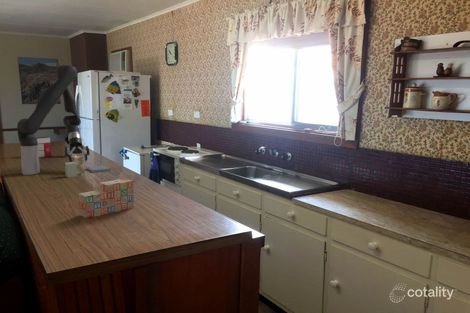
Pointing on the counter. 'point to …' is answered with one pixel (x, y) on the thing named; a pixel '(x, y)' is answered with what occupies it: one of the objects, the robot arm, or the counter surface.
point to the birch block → (79, 163)
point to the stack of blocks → (107, 198)
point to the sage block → (70, 169)
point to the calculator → (44, 146)
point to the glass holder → (69, 146)
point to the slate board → (98, 169)
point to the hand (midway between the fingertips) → (78, 160)
